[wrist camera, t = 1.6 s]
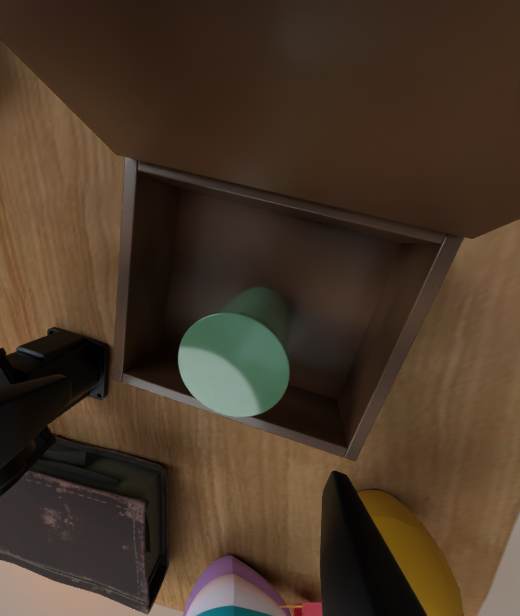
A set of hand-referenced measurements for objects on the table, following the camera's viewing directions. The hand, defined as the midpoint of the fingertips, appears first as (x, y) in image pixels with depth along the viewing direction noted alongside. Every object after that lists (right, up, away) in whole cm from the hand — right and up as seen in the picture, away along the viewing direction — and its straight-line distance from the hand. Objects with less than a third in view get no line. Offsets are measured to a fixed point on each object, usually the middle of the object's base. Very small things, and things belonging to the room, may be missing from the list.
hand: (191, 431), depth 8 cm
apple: (+13, -15, +16) cm, 25 cm away
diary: (-21, -19, +23) cm, 37 cm away
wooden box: (+3, +5, +12) cm, 13 cm away
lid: (+3, +10, -4) cm, 11 cm away
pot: (+2, +3, +12) cm, 12 cm away
